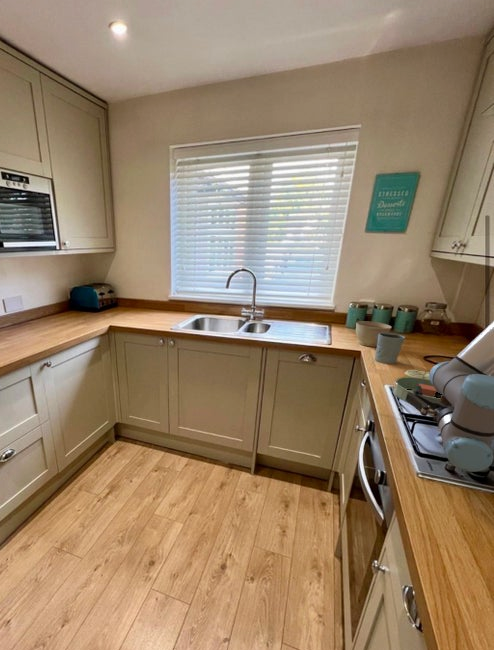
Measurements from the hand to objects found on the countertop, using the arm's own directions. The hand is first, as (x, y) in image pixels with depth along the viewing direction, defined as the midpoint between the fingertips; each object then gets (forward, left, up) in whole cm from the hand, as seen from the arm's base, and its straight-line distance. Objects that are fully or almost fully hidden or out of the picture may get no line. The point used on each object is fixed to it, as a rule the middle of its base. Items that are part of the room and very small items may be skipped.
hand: (445, 394), depth 97 cm
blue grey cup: (+15, -54, -8) cm, 57 cm away
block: (+3, -13, -7) cm, 15 cm away
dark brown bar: (0, +3, -8) cm, 8 cm away
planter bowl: (+23, -80, -8) cm, 84 cm away
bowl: (+3, -14, -8) cm, 17 cm away
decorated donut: (+3, -32, -8) cm, 33 cm away
